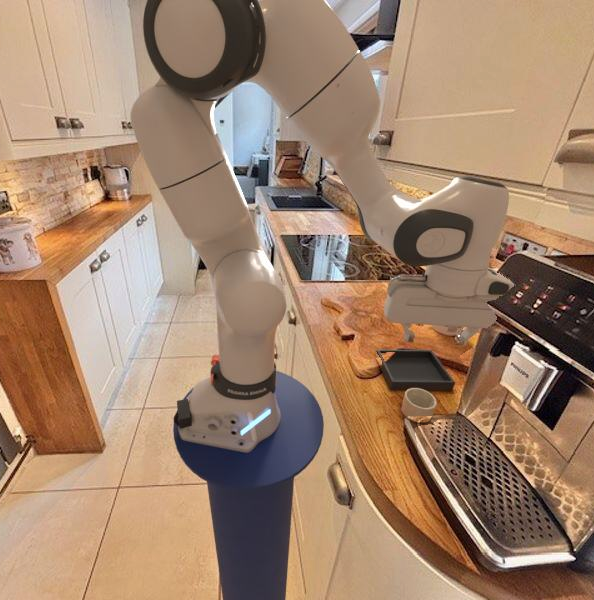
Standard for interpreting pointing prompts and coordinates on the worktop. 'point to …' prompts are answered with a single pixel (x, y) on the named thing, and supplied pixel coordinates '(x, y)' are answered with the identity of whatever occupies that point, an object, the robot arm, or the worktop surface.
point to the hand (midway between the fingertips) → (433, 341)
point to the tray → (415, 371)
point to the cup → (418, 403)
